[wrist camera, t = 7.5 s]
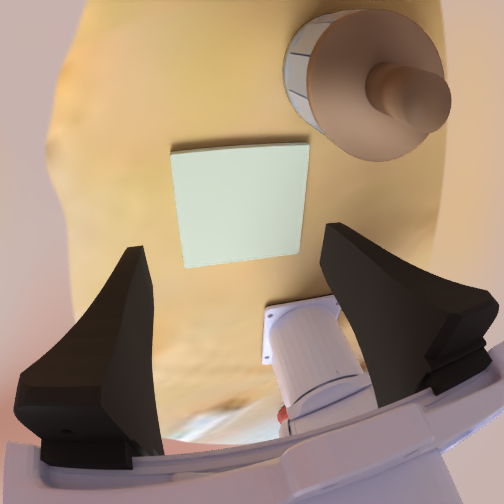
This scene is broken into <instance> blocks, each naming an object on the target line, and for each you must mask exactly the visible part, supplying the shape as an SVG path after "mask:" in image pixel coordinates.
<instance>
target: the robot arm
mask: <svg viewBox="0 0 504 504" xmlns="http://www.w3.org/2000/svg"><path fill="white" fill-rule="evenodd" d="M320 266H321V268H322V271H323V274H324V276H325V279H326V281H327V283H328V285H329V287H330V289H331V291H332V293H333V294H334V295H329V296H324V297H318V298H313V299H308V300H302V301H296V302H290V303H285V304H279V305H273V306H268V307H266V308H265V310H264V328H263V345H262V364H264V365H266V364H272V367H273V370H274V373H275V376H276V380H277V383H278V386H279V389H280V392H281V395H282V398H283V401H284V404H285V406H286V411H287V414H288V417H289V418H288V419H285V420H283V422H282V425H281V427H280V430H279V437H280V438H278V439H273V440H269V441H264V442H259V443H254V444H249V445H243V446H238V447H232V448H226V449H218V450H211V451H204V452H196V453H186V454H176V455H165V454H164V450H163V445H162V440H161V434H160V428H159V422H158V416H157V409H156V401H155V393H154V384H153V373H152V339H153V319H154V298H153V285H152V281H151V277H150V273H149V269H148V265H147V261H146V257H145V252H144V248H143V246H135V247H128V248H127V249H126V250H125V252H124V253H123V255H122V257H121V259H120V260H119V262H118V264H117V265H116V267H115V269H114V271H113V272H112V274H111V275H110V277H109V279H108V280H107V282H106V284H105V285H104V287H103V288H102V290H101V291H100V293H99V294H98V295H97V297H96V298H95V300H94V301H93V303H92V304H91V305H90V307H89V308H88V309H87V311H86V312H85V313H84V315H83V316H82V317H81V318H80V319H79V321H78V322H77V323H76V324H75V325H74V326H73V327H72V328H71V329H70V330H69V331H68V333H67V334H66V335H65V336H64V337H63V338H62V339H61V340H60V341H59V342H58V343H57V344H56V345H55V346H54V347H53V348H52V349H50V350H49V351H48V352H47V353H46V354H45V355H43V356H42V357H41V358H40V359H39V360H38V361H36V362H35V363H34V364H32V365H31V366H30V367H28V368H27V369H26V370H25V371H23V372H22V373H21V374H20V378H19V382H18V386H17V392H16V397H15V403H14V414H15V416H16V417H17V419H18V420H19V421H20V422H21V423H22V424H23V425H24V426H26V427H27V428H28V429H29V430H31V431H32V432H33V433H34V434H36V435H37V436H38V437H40V438H41V439H42V440H41V447H38V446H35V445H32V444H25V443H18V442H11V441H8V442H6V449H5V460H4V476H3V478H4V479H3V504H463V503H462V500H461V498H460V496H459V493H458V491H457V489H456V487H455V484H454V482H453V480H452V478H451V475H450V473H449V471H448V469H447V467H446V465H445V462H444V460H443V458H442V456H441V454H443V453H444V452H446V451H448V450H449V449H451V448H452V447H454V446H456V445H457V444H459V443H460V442H462V441H463V440H465V439H466V438H468V437H469V436H471V435H472V434H474V433H475V432H477V431H478V430H480V429H481V428H482V427H484V426H485V425H486V424H488V423H489V422H491V421H492V420H493V419H495V418H496V417H497V416H499V415H500V414H501V413H503V412H504V341H503V342H501V343H500V344H498V345H496V346H494V347H493V348H491V349H490V350H489V351H488V352H487V351H486V350H485V349H484V346H485V345H486V341H485V340H484V338H483V336H484V334H485V333H486V332H487V330H488V329H489V327H490V326H491V324H492V323H493V321H494V320H495V318H496V316H497V313H498V311H499V304H498V302H497V301H496V300H495V299H494V298H493V297H492V295H491V294H490V293H489V292H488V291H487V290H482V289H478V288H474V287H470V286H466V285H462V284H459V283H456V282H452V281H450V280H447V279H444V278H441V277H439V276H436V275H434V274H431V273H429V272H427V271H424V270H422V269H420V268H418V267H416V266H414V265H412V264H410V263H408V262H406V261H404V260H402V259H400V258H398V257H397V256H395V255H393V254H391V253H390V252H388V251H386V250H385V249H383V248H381V247H380V246H378V245H376V244H375V243H373V242H372V241H370V240H369V239H367V238H365V237H364V236H362V235H361V234H359V233H357V232H356V231H354V230H353V229H351V228H349V227H348V226H346V225H344V224H342V223H340V222H338V223H328V224H326V228H325V235H324V241H323V247H322V252H321V258H320ZM341 309H342V310H343V312H344V314H345V316H346V318H347V319H348V321H349V323H350V325H351V327H352V329H353V331H354V333H355V336H356V338H357V341H358V343H359V346H360V348H361V351H362V354H363V357H364V360H365V363H366V365H367V368H368V372H369V375H370V378H371V380H370V378H369V376H368V374H367V372H365V373H364V372H363V370H362V368H361V366H360V364H359V362H358V360H357V358H356V356H355V354H354V352H353V350H352V348H351V346H350V344H349V342H348V341H347V339H346V337H345V335H344V333H343V331H342V329H341V327H340V325H339V323H338V321H337V320H338V316H339V313H340V310H341ZM269 314H270V315H269Z"/></svg>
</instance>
